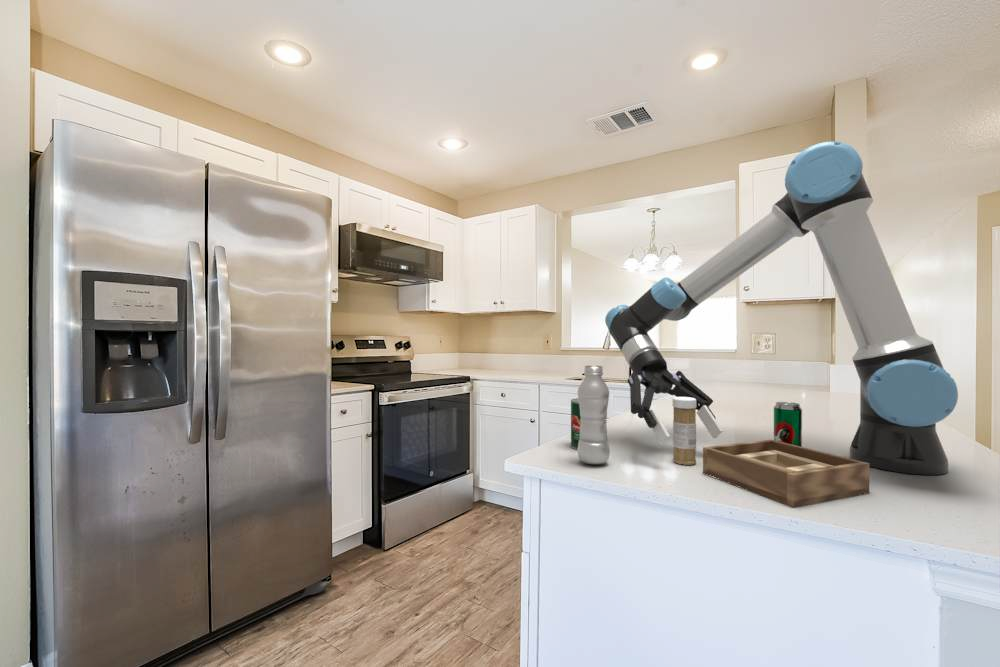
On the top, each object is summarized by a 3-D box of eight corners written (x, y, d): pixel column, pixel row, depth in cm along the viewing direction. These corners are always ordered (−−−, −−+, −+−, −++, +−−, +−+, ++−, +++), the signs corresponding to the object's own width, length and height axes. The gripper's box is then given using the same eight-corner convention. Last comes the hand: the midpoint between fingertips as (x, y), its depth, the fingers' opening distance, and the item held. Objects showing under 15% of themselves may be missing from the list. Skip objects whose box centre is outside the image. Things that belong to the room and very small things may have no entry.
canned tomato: (602, 443, 110) (602, 398, 110) (607, 452, 102) (607, 403, 102) (569, 442, 111) (569, 397, 111) (571, 451, 103) (571, 402, 103)
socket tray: (771, 463, 93) (771, 439, 93) (869, 493, 76) (869, 463, 76) (702, 473, 86) (703, 447, 86) (793, 507, 70) (793, 475, 70)
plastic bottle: (615, 463, 93) (616, 366, 93) (598, 470, 88) (598, 367, 88) (588, 457, 98) (588, 364, 98) (570, 463, 93) (571, 366, 93)
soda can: (806, 464, 93) (806, 405, 93) (779, 462, 94) (779, 404, 94) (795, 457, 98) (795, 401, 98) (769, 456, 99) (769, 401, 99)
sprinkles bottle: (687, 459, 96) (687, 395, 96) (701, 465, 92) (701, 398, 92) (668, 460, 95) (668, 396, 95) (681, 466, 91) (681, 399, 91)
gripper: (678, 368, 112) (728, 442, 98) (591, 371, 104) (632, 452, 90) (694, 347, 107) (749, 422, 93) (605, 348, 99) (650, 431, 85)
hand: (692, 437), depth 92 cm, fingers open, 13 cm apart
